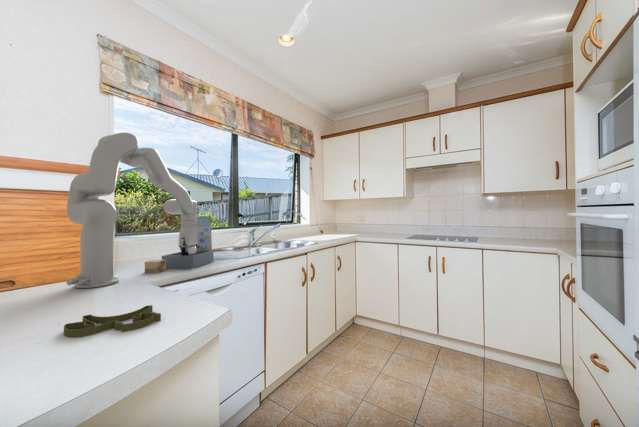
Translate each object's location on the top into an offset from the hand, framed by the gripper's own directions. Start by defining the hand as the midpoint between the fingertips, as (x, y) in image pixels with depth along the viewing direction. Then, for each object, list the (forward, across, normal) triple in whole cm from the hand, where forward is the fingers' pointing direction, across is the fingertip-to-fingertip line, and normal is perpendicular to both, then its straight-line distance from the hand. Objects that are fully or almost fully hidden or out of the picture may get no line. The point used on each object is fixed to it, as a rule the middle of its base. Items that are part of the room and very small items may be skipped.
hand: (189, 258), depth 137 cm
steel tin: (+1, 0, 0) cm, 1 cm away
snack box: (+3, -24, -5) cm, 25 cm away
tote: (+3, 0, 0) cm, 3 cm away
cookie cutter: (+4, +74, +26) cm, 78 cm away
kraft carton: (+4, +17, -6) cm, 18 cm away
